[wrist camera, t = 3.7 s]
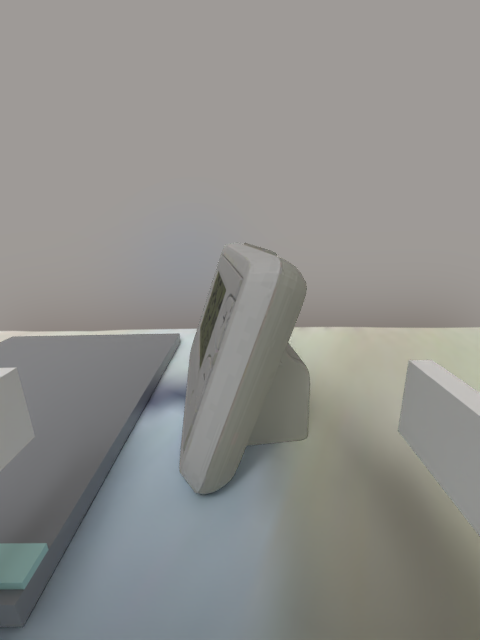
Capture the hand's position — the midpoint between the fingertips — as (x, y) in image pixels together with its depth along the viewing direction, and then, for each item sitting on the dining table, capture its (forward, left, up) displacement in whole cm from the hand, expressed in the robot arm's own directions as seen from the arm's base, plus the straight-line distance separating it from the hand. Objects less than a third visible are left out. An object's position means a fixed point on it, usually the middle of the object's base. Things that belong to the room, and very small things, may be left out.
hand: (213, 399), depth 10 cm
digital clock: (0, -9, -6) cm, 11 cm away
